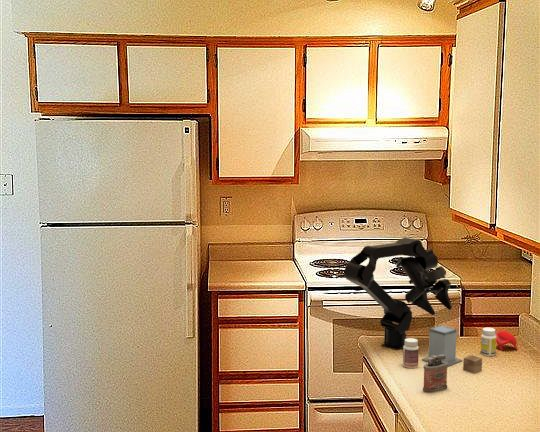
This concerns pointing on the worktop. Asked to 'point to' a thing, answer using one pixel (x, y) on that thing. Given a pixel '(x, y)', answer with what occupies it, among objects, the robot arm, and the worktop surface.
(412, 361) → the pill bottle
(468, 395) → the worktop surface
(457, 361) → the coaster
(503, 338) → the red plastic curved piece
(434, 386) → the lighter
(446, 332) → the cover
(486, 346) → the supplement bottle
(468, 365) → the block
